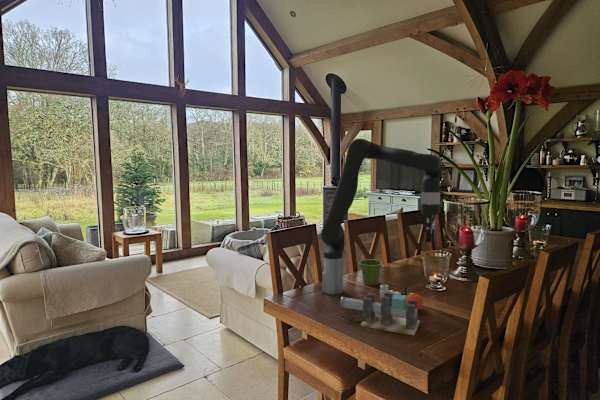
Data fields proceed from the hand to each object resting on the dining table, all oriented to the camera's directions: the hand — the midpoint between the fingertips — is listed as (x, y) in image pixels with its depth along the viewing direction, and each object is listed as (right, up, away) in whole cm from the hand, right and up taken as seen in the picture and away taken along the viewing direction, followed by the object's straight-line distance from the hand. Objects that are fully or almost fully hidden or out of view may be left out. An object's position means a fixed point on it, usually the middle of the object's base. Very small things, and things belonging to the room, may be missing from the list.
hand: (429, 240), depth 167 cm
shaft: (-25, -27, -13) cm, 39 cm away
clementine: (-7, -30, -1) cm, 30 cm away
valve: (-13, -29, +10) cm, 33 cm away
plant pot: (-19, -26, +34) cm, 47 cm away
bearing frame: (-20, -31, -15) cm, 40 cm away
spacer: (-18, -24, -18) cm, 34 cm away
